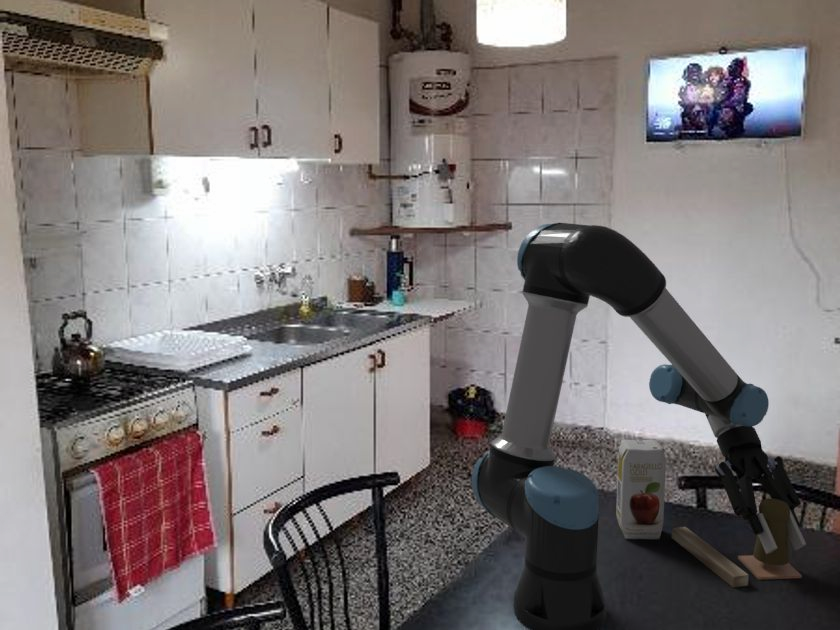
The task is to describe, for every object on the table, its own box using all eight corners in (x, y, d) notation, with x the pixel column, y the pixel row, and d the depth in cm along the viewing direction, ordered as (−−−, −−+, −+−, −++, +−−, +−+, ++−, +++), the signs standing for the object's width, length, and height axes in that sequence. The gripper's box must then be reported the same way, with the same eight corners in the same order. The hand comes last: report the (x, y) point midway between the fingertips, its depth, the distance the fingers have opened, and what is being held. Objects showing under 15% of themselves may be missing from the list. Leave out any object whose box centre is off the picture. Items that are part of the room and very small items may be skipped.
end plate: (758, 579, 137) (758, 577, 137) (737, 558, 145) (737, 555, 145) (801, 578, 137) (801, 575, 137) (778, 556, 145) (778, 554, 145)
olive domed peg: (793, 566, 137) (797, 509, 136) (757, 563, 139) (761, 506, 137) (784, 551, 143) (788, 495, 141) (750, 548, 144) (753, 493, 143)
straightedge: (732, 587, 135) (733, 576, 134) (671, 537, 154) (671, 528, 153) (747, 585, 135) (748, 574, 135) (684, 535, 154) (685, 526, 154)
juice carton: (613, 524, 160) (616, 437, 157) (655, 525, 160) (659, 437, 156) (621, 541, 153) (625, 450, 149) (665, 541, 152) (669, 450, 149)
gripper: (765, 437, 155) (817, 550, 142) (684, 445, 151) (731, 561, 138) (784, 419, 149) (841, 536, 136) (701, 427, 145) (752, 547, 132)
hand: (786, 548), depth 137 cm, fingers closed on olive domed peg, 5 cm apart
